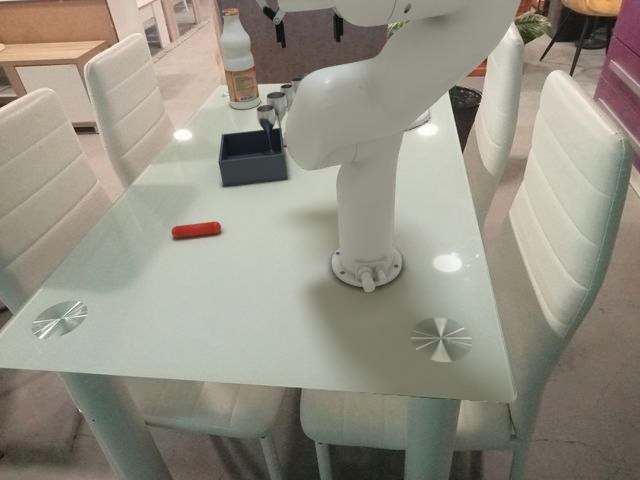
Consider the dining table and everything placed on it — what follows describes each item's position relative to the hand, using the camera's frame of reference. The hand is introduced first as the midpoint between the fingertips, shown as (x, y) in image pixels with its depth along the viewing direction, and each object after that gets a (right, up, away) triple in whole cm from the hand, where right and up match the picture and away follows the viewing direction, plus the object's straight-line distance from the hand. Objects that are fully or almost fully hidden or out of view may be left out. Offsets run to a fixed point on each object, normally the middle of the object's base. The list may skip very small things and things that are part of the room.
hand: (310, 43), depth 85 cm
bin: (-14, -17, +35) cm, 41 cm away
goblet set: (-6, -5, +48) cm, 49 cm away
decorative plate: (+21, +1, +55) cm, 59 cm away
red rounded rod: (-23, -34, +13) cm, 43 cm away
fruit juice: (-22, +9, +70) cm, 74 cm away
